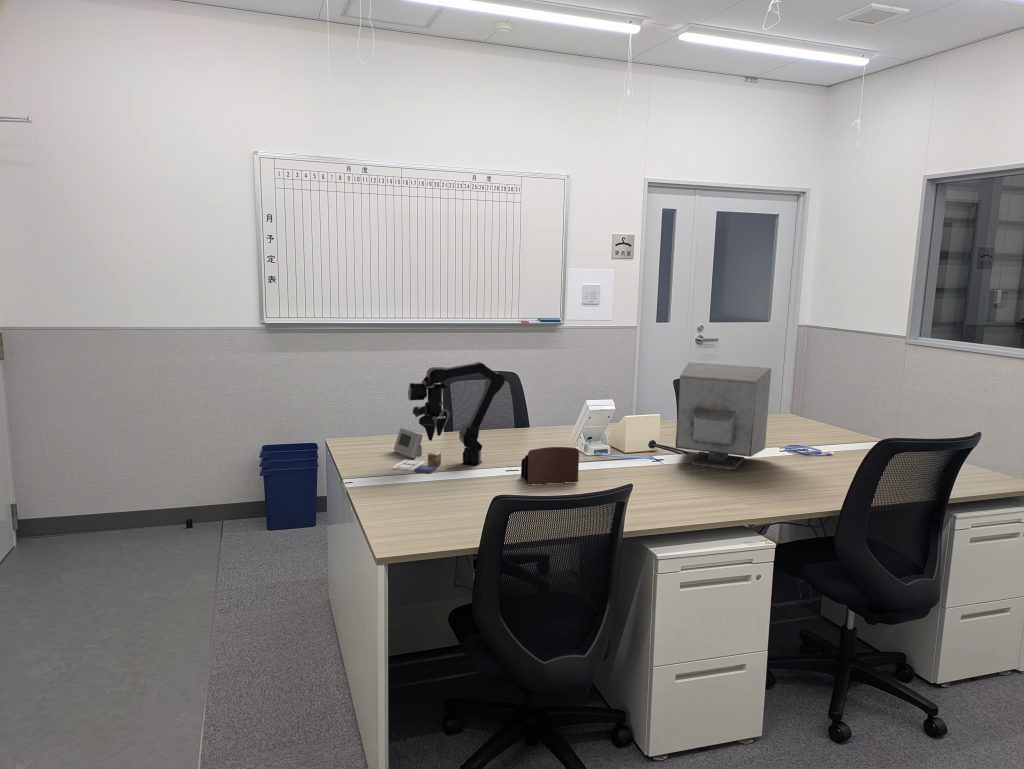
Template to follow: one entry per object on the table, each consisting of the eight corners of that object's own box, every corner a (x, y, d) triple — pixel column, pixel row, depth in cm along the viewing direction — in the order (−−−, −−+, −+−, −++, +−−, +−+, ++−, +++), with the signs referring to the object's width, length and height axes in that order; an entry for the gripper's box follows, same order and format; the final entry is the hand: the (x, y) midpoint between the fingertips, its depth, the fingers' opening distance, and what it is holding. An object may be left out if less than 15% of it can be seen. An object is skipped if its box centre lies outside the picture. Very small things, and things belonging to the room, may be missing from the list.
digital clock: (392, 451, 318) (392, 427, 316) (412, 449, 322) (412, 425, 320) (405, 460, 304) (405, 435, 302) (425, 458, 308) (425, 433, 306)
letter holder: (578, 483, 277) (579, 446, 275) (527, 485, 272) (528, 448, 270) (569, 476, 287) (571, 440, 284) (520, 478, 282) (521, 442, 280)
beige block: (440, 465, 297) (440, 452, 296) (437, 467, 293) (437, 454, 293) (431, 464, 298) (431, 451, 297) (427, 466, 294) (427, 453, 294)
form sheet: (425, 462, 300) (425, 461, 300) (412, 470, 288) (412, 469, 287) (405, 460, 302) (405, 459, 302) (391, 468, 290) (391, 467, 290)
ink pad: (436, 469, 290) (436, 466, 290) (431, 473, 284) (431, 470, 284) (420, 468, 292) (420, 464, 292) (414, 471, 286) (414, 468, 286)
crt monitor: (764, 458, 321) (771, 367, 315) (753, 479, 287) (761, 378, 281) (683, 449, 335) (689, 361, 329) (664, 467, 302) (670, 370, 296)
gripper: (424, 394, 303) (424, 431, 305) (406, 402, 285) (406, 441, 287) (450, 396, 300) (450, 433, 302) (433, 403, 282) (433, 443, 284)
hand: (434, 438), depth 294 cm, fingers open, 9 cm apart
